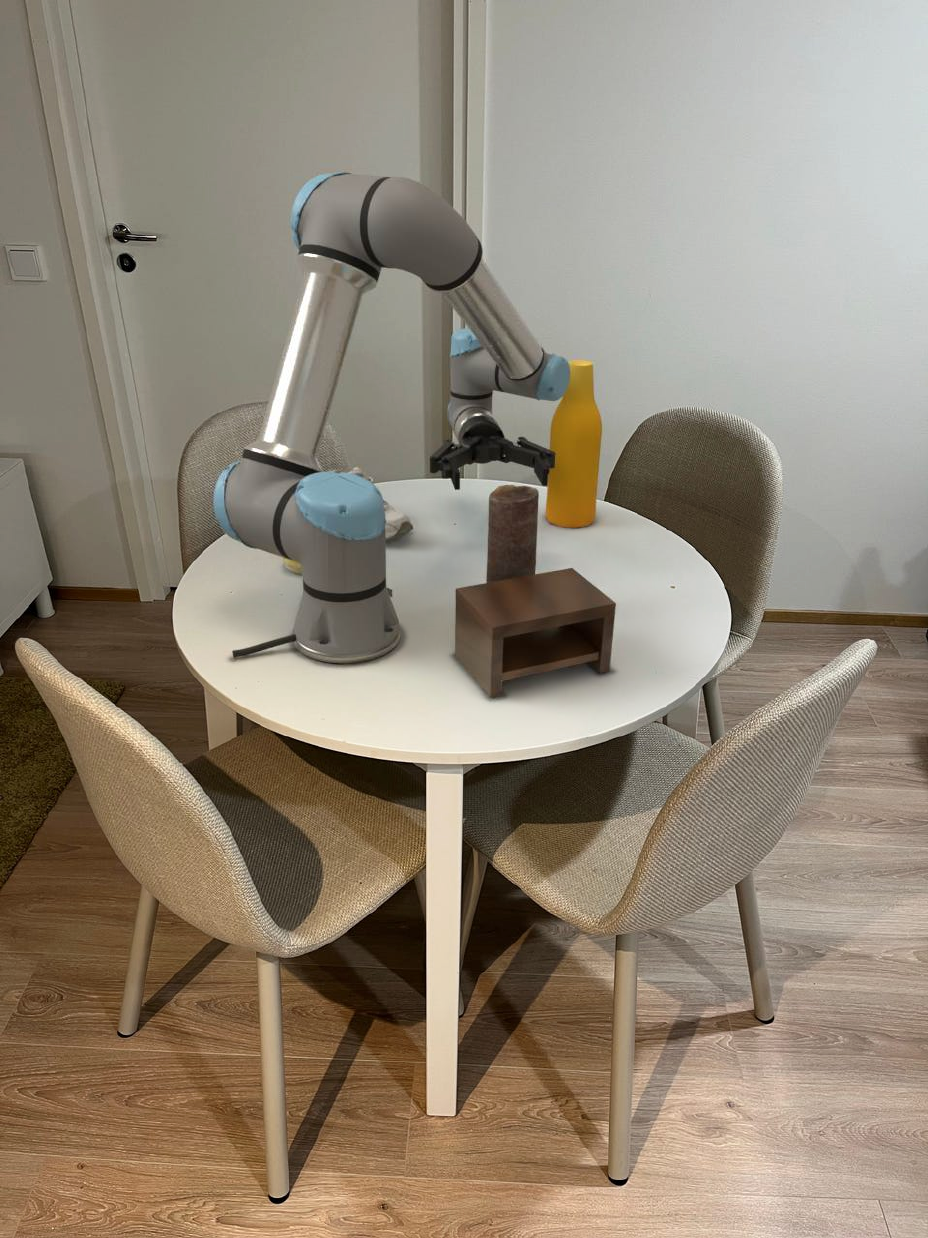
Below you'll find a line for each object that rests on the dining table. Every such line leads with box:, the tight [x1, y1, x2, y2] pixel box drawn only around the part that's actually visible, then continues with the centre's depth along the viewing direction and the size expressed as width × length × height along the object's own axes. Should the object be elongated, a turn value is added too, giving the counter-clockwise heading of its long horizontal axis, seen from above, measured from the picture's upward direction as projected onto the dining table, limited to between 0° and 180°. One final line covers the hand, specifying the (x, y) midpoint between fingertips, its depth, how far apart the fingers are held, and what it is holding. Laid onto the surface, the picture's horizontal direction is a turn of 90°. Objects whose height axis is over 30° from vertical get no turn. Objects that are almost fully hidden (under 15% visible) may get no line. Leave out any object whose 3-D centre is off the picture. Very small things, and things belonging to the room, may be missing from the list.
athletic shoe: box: [327, 466, 414, 542], centre depth 176 cm, size 10×23×12 cm, turn 52°
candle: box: [485, 484, 540, 583], centre depth 144 cm, size 8×7×20 cm
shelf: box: [454, 567, 617, 699], centre depth 133 cm, size 18×12×10 cm, turn 113°
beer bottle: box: [545, 359, 603, 529], centre depth 176 cm, size 9×9×29 cm
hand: (501, 479), depth 149 cm, fingers open, 13 cm apart
